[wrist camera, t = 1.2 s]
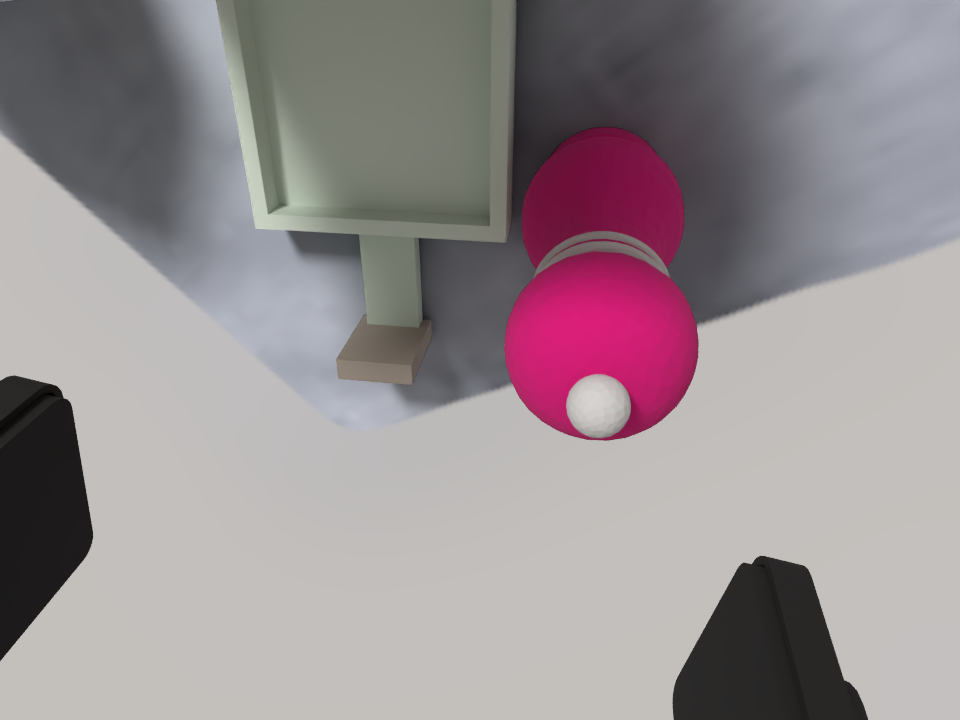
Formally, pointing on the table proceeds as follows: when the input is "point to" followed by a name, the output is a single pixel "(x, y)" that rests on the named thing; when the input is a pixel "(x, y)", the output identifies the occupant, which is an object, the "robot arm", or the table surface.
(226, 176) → the table surface
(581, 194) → the pepper mill
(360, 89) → the tray
